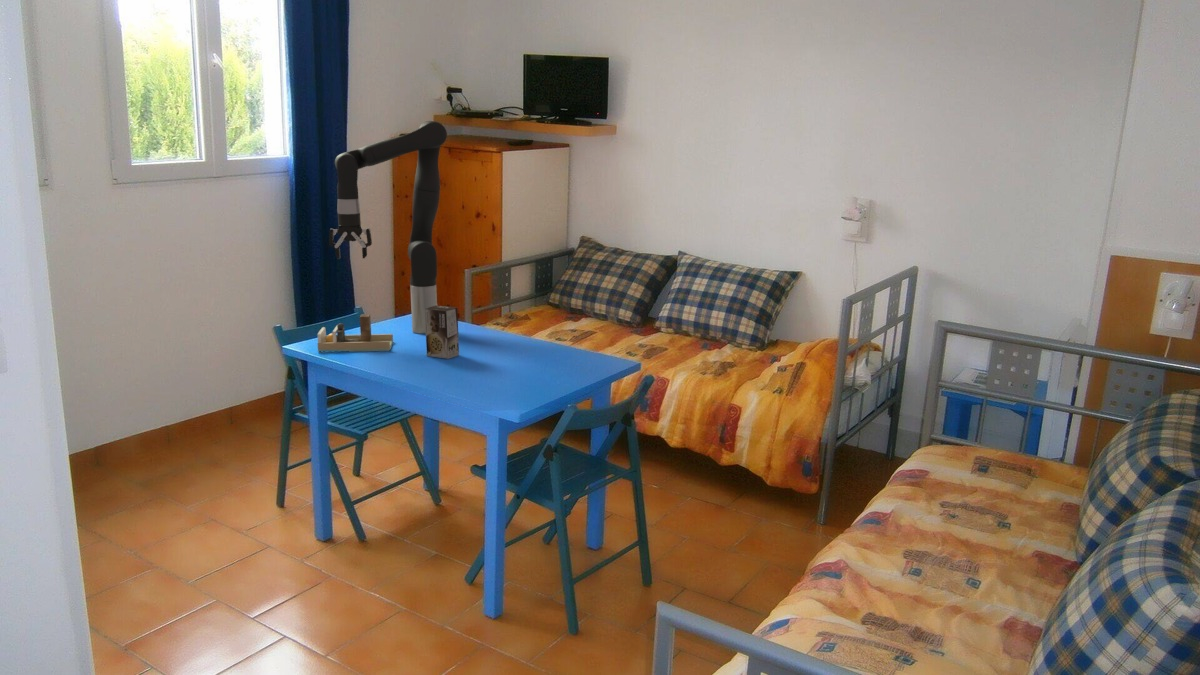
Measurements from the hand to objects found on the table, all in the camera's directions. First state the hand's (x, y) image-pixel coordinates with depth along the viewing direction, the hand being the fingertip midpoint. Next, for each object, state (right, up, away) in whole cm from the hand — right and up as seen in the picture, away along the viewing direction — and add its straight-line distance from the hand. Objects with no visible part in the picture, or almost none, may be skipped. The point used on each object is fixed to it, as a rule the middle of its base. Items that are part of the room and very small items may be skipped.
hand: (351, 258), depth 328 cm
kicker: (+3, -30, -9) cm, 31 cm away
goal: (-5, -31, -10) cm, 33 cm away
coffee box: (+35, -34, -19) cm, 52 cm away
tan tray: (+4, -31, -9) cm, 32 cm away
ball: (-4, -28, -10) cm, 30 cm away
